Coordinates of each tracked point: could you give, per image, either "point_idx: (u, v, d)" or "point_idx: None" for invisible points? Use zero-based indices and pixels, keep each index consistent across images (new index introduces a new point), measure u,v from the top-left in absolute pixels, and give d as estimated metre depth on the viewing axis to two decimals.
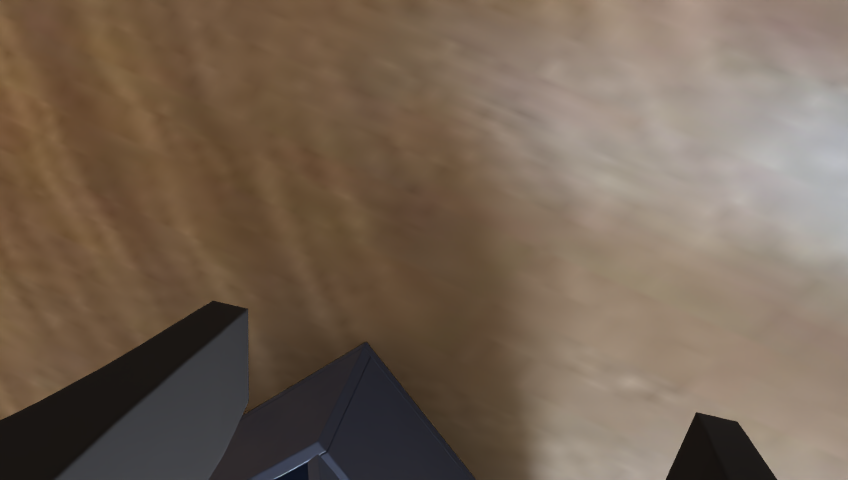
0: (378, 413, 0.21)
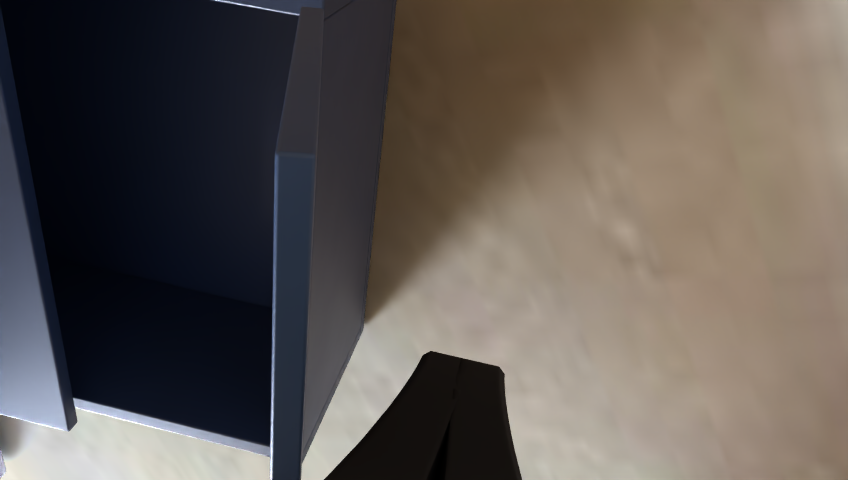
0: (369, 43, 0.14)
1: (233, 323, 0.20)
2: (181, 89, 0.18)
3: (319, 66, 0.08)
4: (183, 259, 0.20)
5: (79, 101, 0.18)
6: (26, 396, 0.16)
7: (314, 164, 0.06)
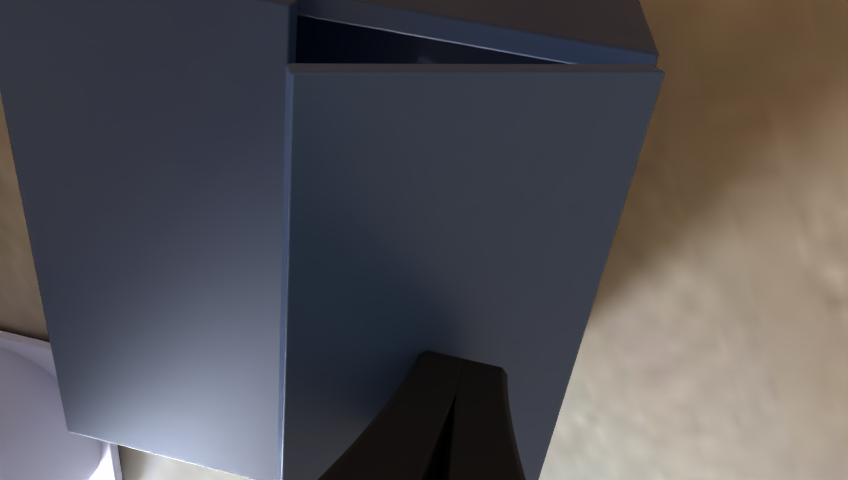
0: None
1: None
2: None
3: (488, 72, 0.09)
4: None
5: None
6: (238, 450, 0.15)
7: (293, 80, 0.08)
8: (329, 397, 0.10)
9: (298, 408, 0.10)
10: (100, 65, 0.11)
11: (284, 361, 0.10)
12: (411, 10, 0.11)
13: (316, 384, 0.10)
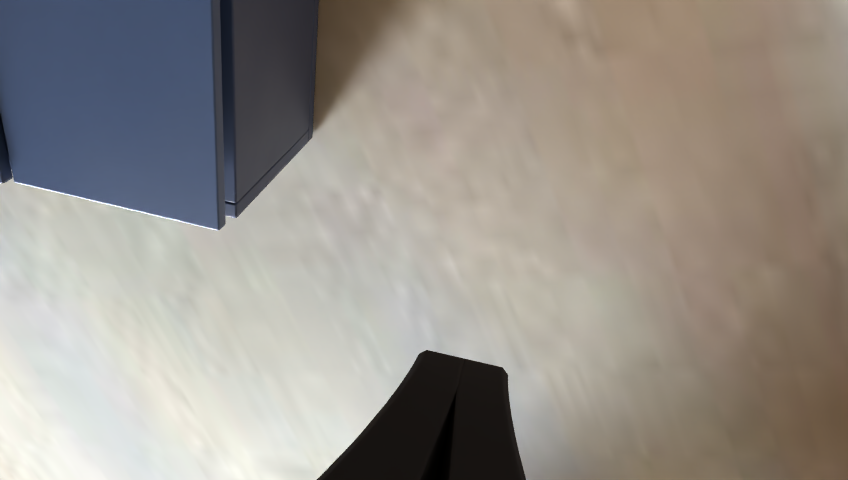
0: None
1: None
2: None
3: None
4: None
5: None
6: None
7: None
8: None
9: None
10: None
11: None
12: None
13: None
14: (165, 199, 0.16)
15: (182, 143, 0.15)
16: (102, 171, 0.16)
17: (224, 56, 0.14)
